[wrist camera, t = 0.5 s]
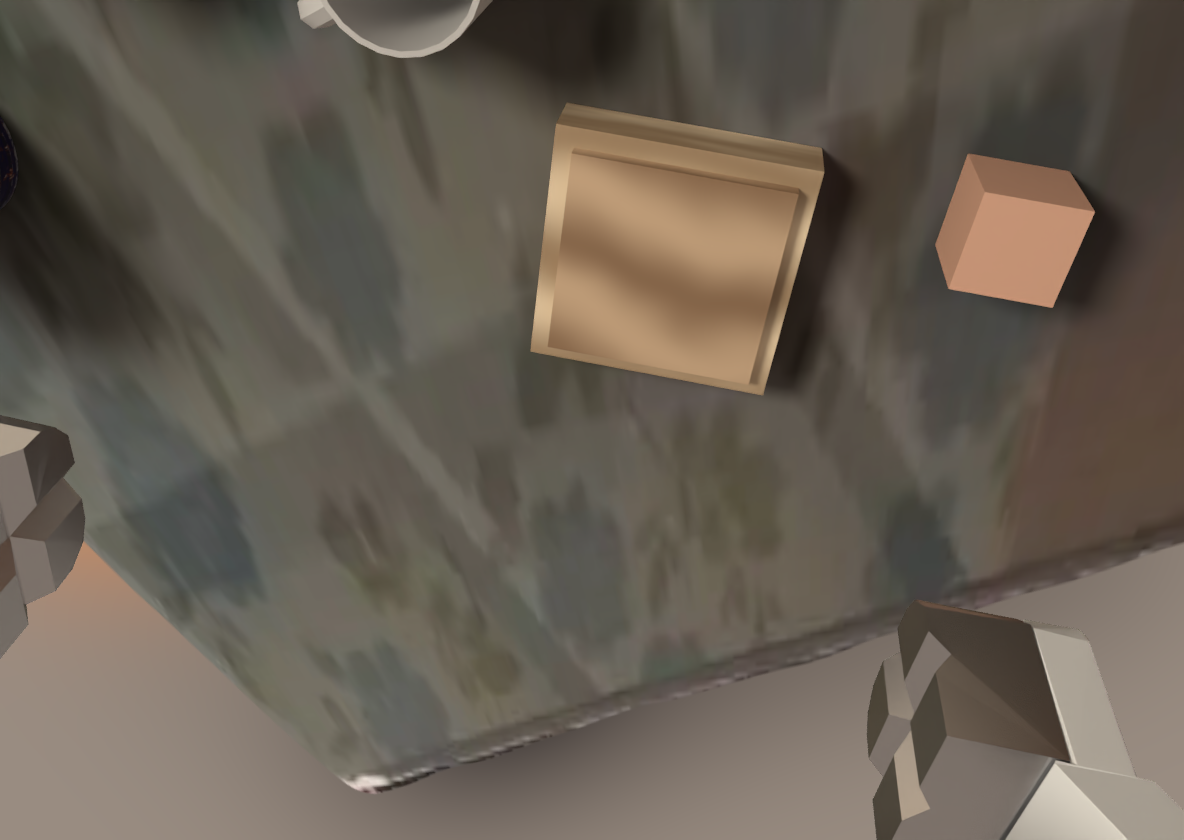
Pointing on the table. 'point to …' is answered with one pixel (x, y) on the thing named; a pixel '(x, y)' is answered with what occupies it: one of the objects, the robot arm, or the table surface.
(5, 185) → the storage jar
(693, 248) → the plinth
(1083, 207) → the cube
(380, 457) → the table surface
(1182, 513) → the table surface
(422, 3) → the cup
